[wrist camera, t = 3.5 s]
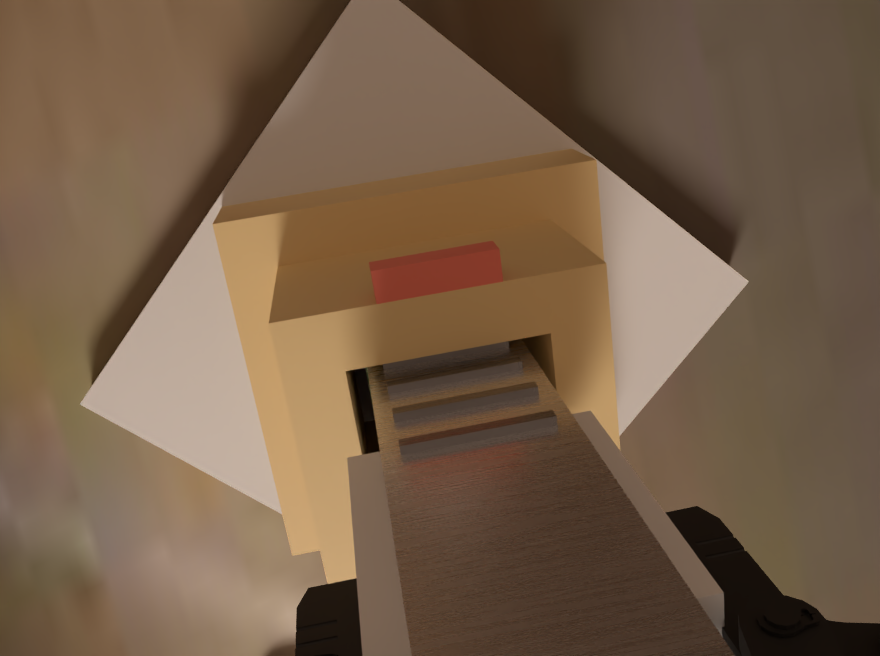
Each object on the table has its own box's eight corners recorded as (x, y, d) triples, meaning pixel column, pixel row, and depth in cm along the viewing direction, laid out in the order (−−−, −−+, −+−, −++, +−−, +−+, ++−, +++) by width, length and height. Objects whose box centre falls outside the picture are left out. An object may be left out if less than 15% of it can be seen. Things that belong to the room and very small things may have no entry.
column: (376, 421, 27) (466, 996, 11) (353, 298, 26) (418, 752, 10) (499, 397, 28) (766, 921, 11) (484, 275, 26) (764, 675, 10)
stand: (174, 651, 32) (125, 869, 24) (-20, 34, 24) (-195, 35, 16) (734, 534, 34) (870, 698, 26) (721, -74, 26) (913, -124, 18)
